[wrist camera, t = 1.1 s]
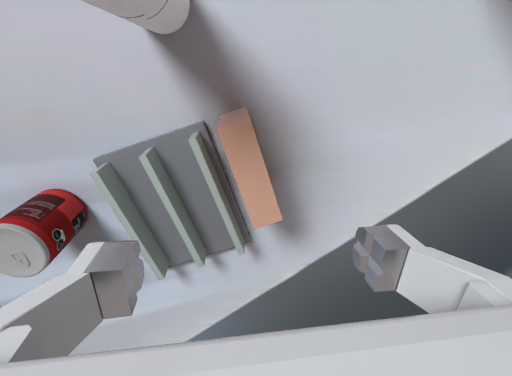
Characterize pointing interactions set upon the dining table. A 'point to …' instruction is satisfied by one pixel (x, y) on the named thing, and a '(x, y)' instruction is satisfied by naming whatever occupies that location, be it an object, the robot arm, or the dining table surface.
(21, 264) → the canned food
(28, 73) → the dining table surface
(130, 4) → the cylindrical container
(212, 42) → the dining table surface
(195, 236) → the slotted rail base
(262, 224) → the terracotta tile
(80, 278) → the robot arm
